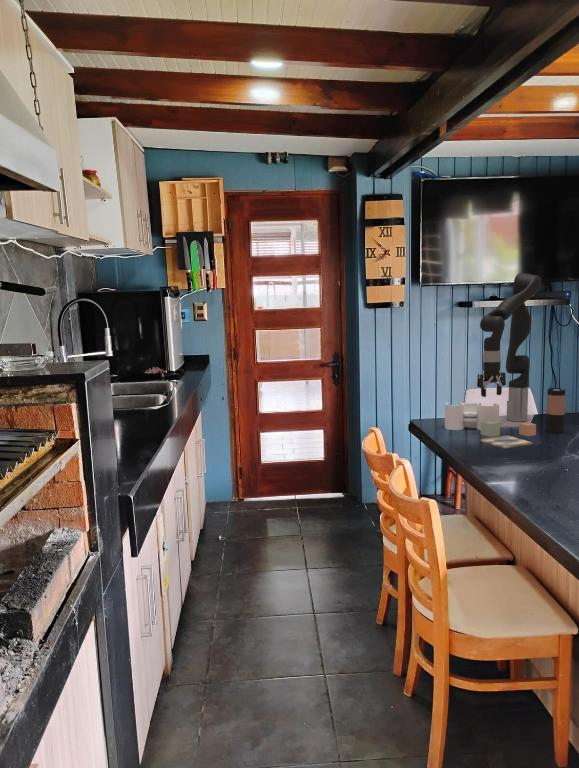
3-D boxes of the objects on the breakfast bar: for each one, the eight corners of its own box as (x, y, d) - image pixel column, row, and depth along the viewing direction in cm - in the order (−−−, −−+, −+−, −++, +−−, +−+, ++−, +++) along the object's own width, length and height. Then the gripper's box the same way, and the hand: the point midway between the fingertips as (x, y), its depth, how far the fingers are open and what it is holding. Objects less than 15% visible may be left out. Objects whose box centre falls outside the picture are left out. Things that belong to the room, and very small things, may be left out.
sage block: (480, 434, 263) (480, 421, 263) (490, 432, 266) (491, 420, 265) (489, 437, 258) (489, 424, 257) (499, 435, 260) (500, 422, 259)
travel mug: (545, 432, 261) (546, 390, 258) (546, 429, 268) (547, 387, 265) (563, 434, 258) (565, 390, 255) (564, 430, 264) (565, 388, 262)
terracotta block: (519, 434, 261) (519, 423, 260) (527, 433, 263) (527, 422, 262) (527, 436, 256) (527, 425, 256) (535, 435, 258) (536, 424, 258)
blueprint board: (480, 440, 251) (480, 438, 251) (507, 437, 256) (507, 435, 256) (504, 448, 237) (504, 446, 237) (532, 444, 242) (532, 442, 242)
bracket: (445, 430, 274) (445, 405, 272) (444, 426, 283) (444, 402, 282) (500, 431, 268) (500, 406, 266) (497, 427, 277) (498, 402, 275)
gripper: (498, 358, 263) (497, 393, 265) (473, 360, 258) (473, 396, 260) (510, 360, 256) (509, 395, 258) (484, 362, 251) (484, 398, 253)
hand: (491, 395), depth 259 cm, fingers open, 8 cm apart
